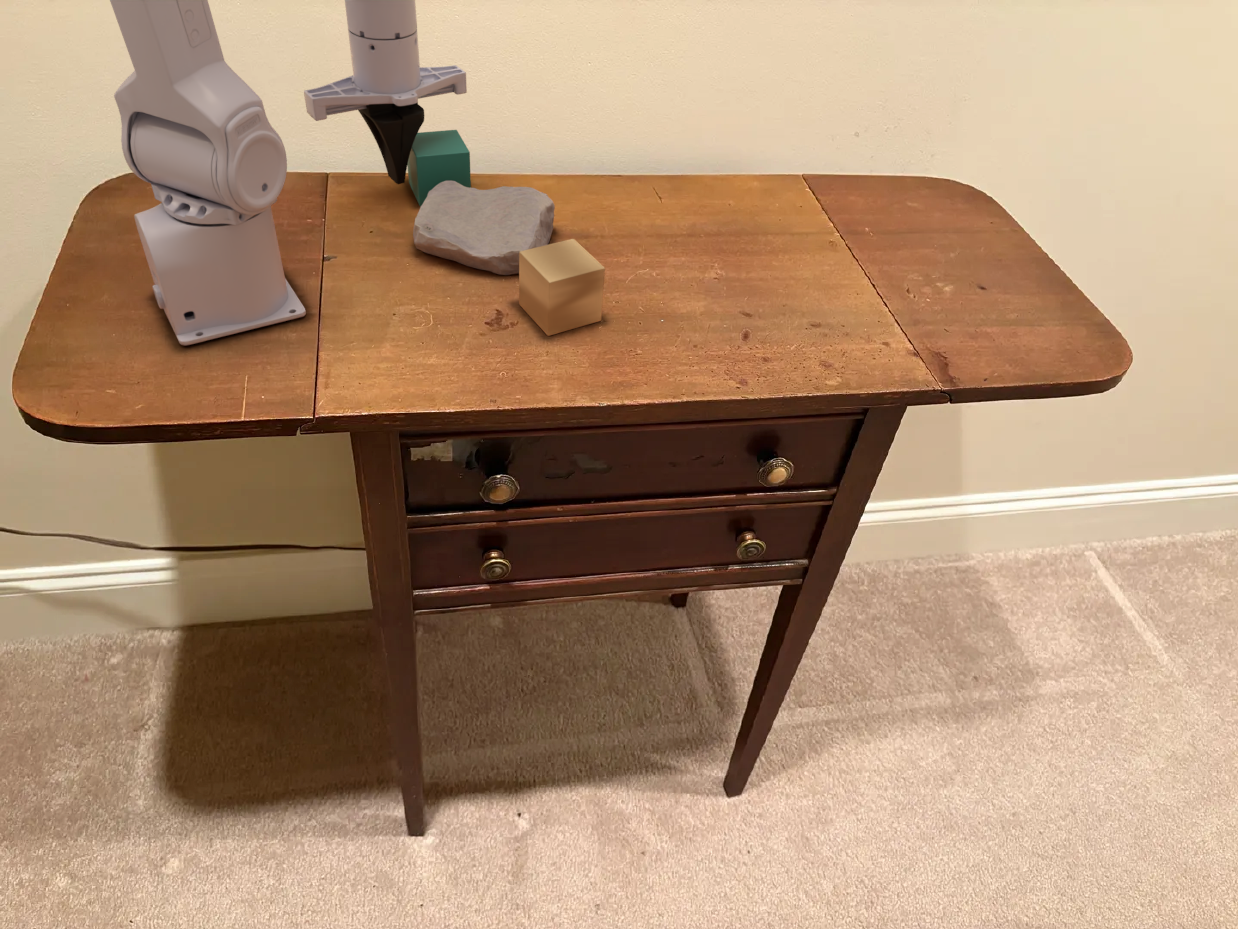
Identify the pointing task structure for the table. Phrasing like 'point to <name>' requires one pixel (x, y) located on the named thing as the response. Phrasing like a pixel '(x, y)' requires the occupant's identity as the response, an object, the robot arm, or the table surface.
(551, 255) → the maple block
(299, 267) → the table surface
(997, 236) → the table surface
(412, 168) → the teal block
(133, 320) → the table surface
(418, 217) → the stone block
